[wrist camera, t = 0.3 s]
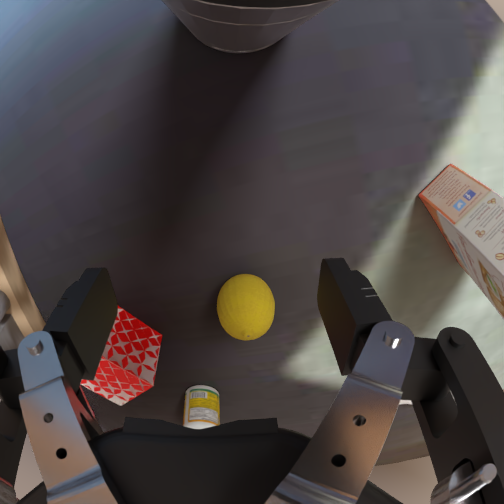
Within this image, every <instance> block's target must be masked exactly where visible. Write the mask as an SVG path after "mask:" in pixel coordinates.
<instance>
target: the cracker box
mask: <svg viewBox="0 0 504 504" xmlns="http://www.w3.org/2000/svg"><path fill="white" fill-rule="evenodd" d="M418 196H419V198H420V199H421V200H422V202H423V203H424V205H425V207H426V208H427V210H428V211H429V213H430V214H431V216H432V218H433V219H434V221H435V223H436V224H437V226H438V227H439V229H440V231H441V233H442V234H443V236H444V238H445V240H446V241H447V243H448V245H449V247H450V248H451V250H452V252H453V254H454V256H455V258H456V259H457V261H458V263H459V264H460V266H461V267H462V268H463V269H464V270H465V271H466V272H467V274H468V275H469V276H470V277H471V278H472V279H473V281H474V282H475V283H476V284H477V286H478V287H479V288H480V289H481V290H482V292H483V293H484V294H485V295H486V297H487V298H488V299H489V301H490V302H491V303H492V304H493V306H494V307H495V308H496V310H497V311H498V312H499V314H500V315H501V316H502V318H503V319H504V198H503V197H502V196H501V195H499V194H498V193H496V192H495V191H493V190H492V189H490V188H489V187H487V186H486V185H484V184H483V183H481V182H480V181H478V180H477V179H475V178H474V177H472V176H471V175H469V174H467V173H466V172H464V171H462V170H461V169H459V168H457V167H456V166H454V165H452V164H449V165H448V166H447V167H446V168H445V169H444V170H443V171H442V172H441V173H440V174H439V175H438V176H437V177H436V178H435V179H434V180H433V181H432V182H431V183H430V184H429V185H428V186H427V187H426V188H425V189H424V190H423V191H422V192H421V193H420V194H419V195H418Z"/></svg>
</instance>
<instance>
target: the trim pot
mask: <svg viewBox="0 0 504 504" xmlns="http://www.w3.org/2000/svg"><path fill="white" fill-rule="evenodd" d="M10 305H11V304H10V300H9V298H8V296H7V295H6V294H5V293H4V292H3V291H1V290H0V322H1V320H2V318H3V317H4V315H5V314H6V312H7V311H8V309H9V307H10Z"/></svg>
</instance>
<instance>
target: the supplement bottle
mask: <svg viewBox="0 0 504 504" xmlns="http://www.w3.org/2000/svg"><path fill="white" fill-rule="evenodd" d="M217 425H220V422H219V393H218V392H217V390H216V389H214V388H212V387H209V386H205V385H196V386H192V387H190V388H188V389H187V391H186V393H185V404H184V417H183V426H185V427H189V428H193V429H204V428H208V427H213V426H217Z"/></svg>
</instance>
